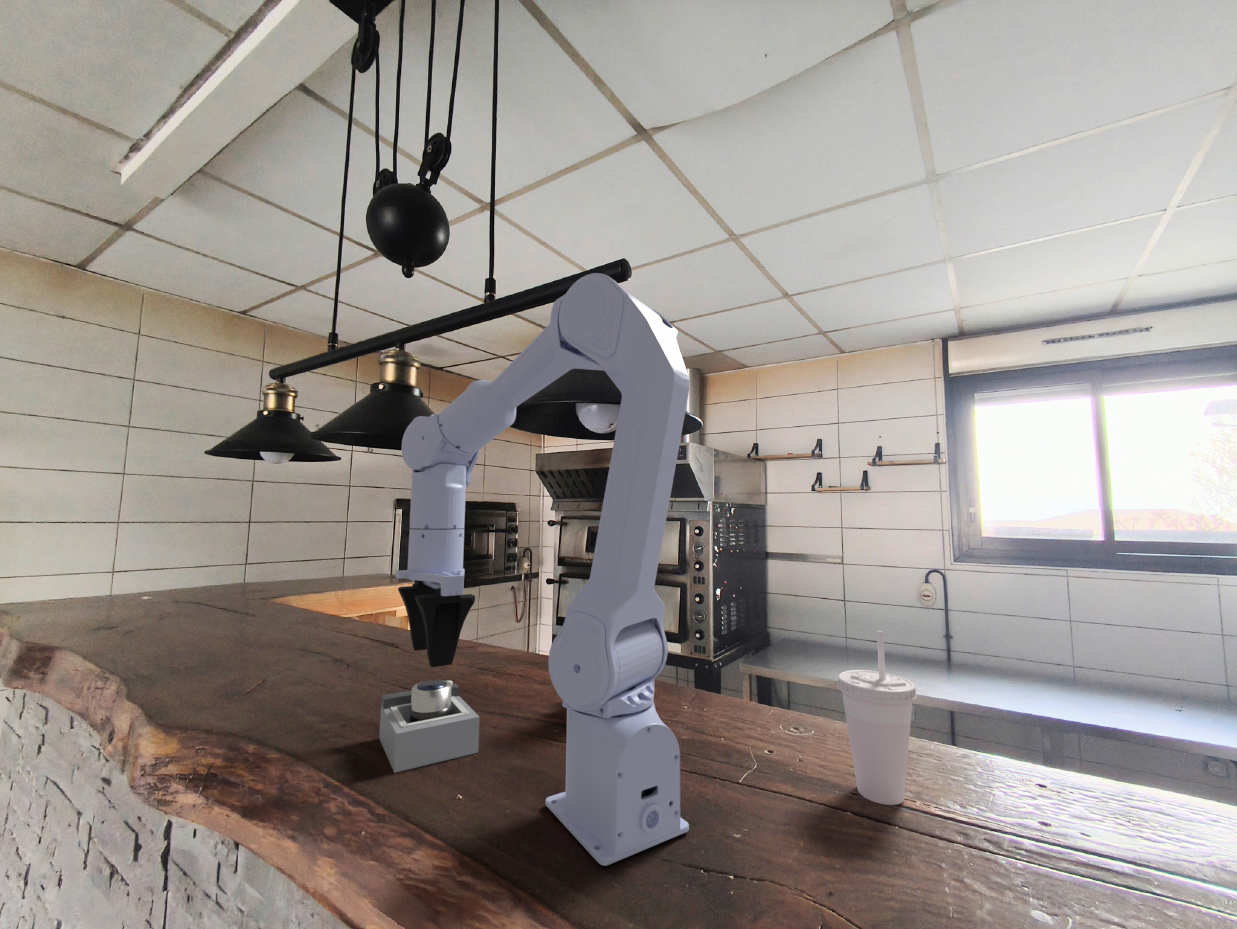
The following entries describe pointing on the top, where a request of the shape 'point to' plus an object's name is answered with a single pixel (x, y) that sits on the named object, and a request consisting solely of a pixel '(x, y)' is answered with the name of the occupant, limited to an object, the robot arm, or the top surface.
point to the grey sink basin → (426, 732)
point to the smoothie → (878, 728)
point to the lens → (430, 700)
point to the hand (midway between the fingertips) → (431, 656)
